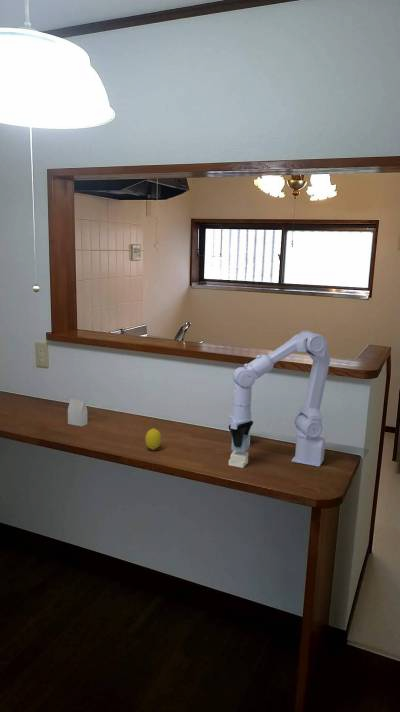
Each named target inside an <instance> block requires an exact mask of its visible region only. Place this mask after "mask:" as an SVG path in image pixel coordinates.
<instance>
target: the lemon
mask: <svg viewBox="0 0 400 712" xmlns="http://www.w3.org/2000/svg"><path fill="white" fill-rule="evenodd" d="M161 443H162V435H161V432H160V431H159V430H158V429H156V428H155V427H154V428H153V427H152V428H151V429H148V431H147V432H146V434H145V445H146V446H147V447H148V448H149V449H150V450H152V451H155V449H158V448H159V447H160V446H161Z"/></svg>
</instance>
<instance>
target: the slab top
mask: <svg viewBox="0 0 400 712" xmlns="http://www.w3.org/2000/svg"><path fill="white" fill-rule="evenodd" d="M247 459H248V460H249V451H245V452H239V451H234V450H232V452H231V454H230V459H229V460H230V461H233V462H241V463H246V461H247Z"/></svg>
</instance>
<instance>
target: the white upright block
mask: <svg viewBox="0 0 400 712" xmlns="http://www.w3.org/2000/svg"><path fill="white" fill-rule="evenodd" d="M67 424H68V425H73V426H76V427H77V426H79V427H84V426H86V425H88V408H87V403H86V401H85V400H83V399H82V400H81V399H76V398H70V400H69V404H68V407H67Z"/></svg>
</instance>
